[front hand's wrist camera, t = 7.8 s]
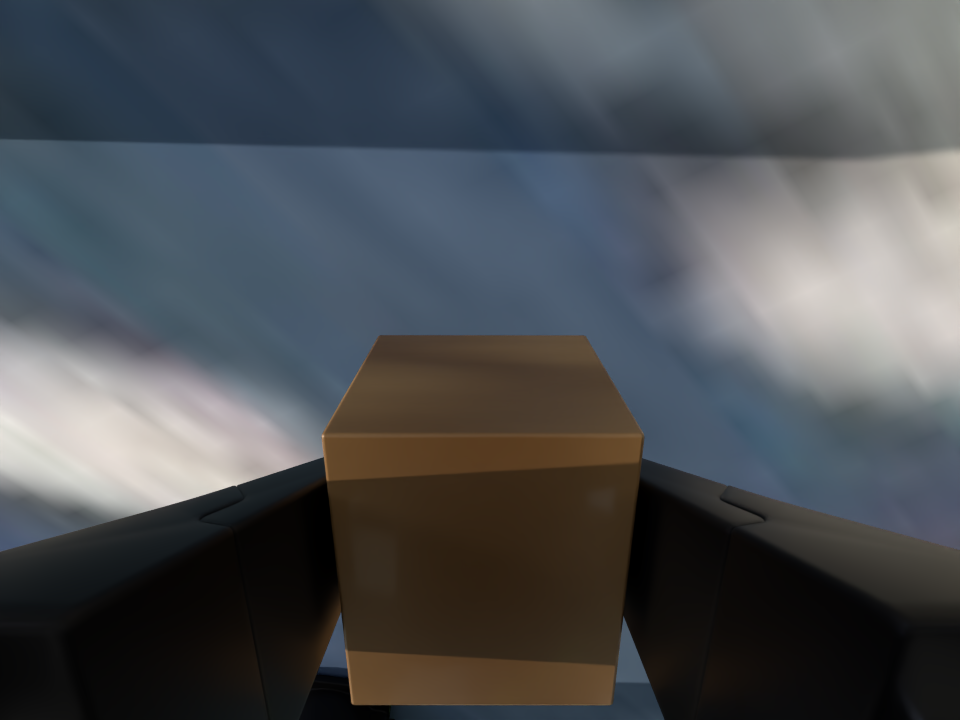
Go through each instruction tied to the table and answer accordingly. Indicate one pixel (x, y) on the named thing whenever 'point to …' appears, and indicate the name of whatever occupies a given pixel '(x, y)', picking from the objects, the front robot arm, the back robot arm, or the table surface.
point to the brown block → (482, 521)
